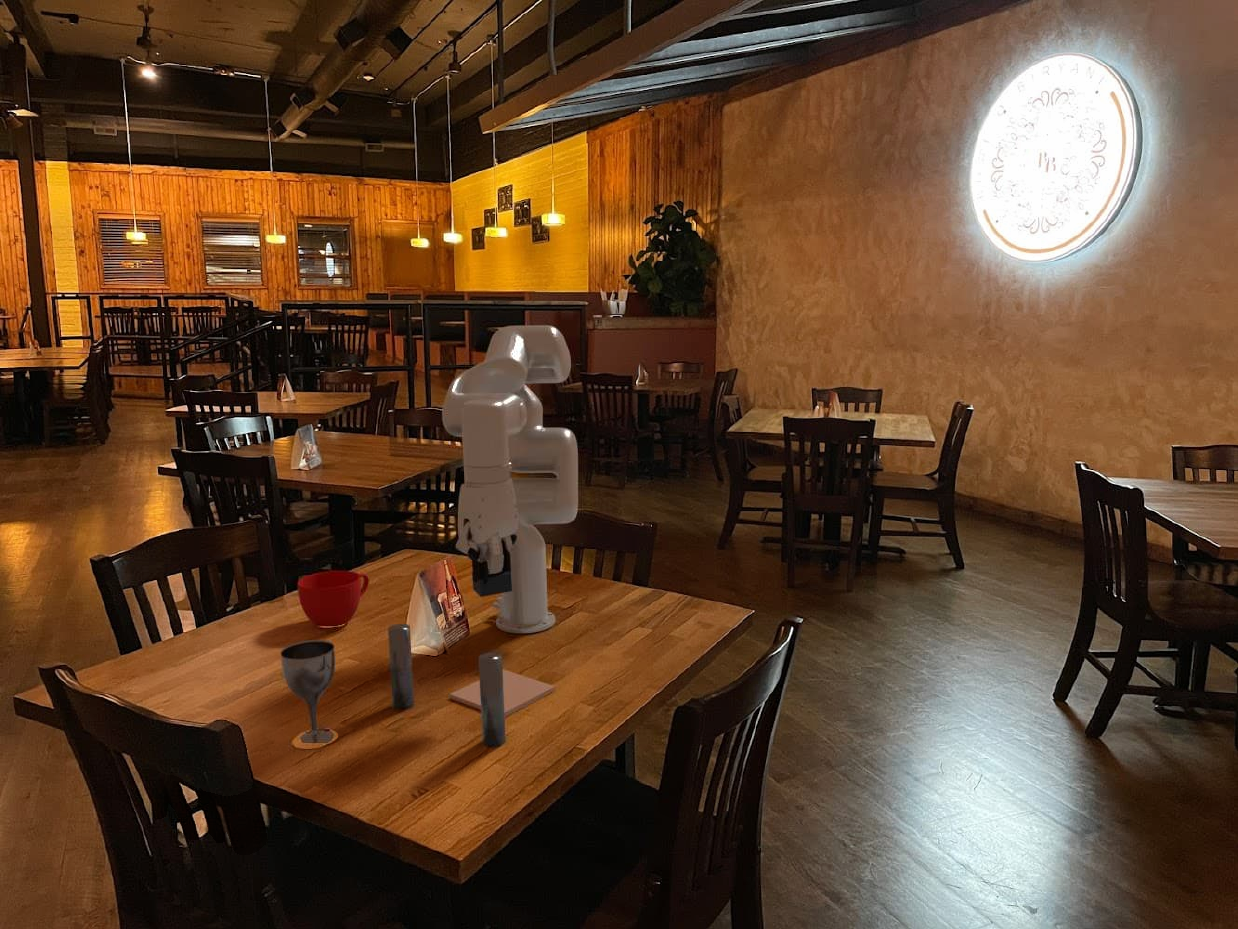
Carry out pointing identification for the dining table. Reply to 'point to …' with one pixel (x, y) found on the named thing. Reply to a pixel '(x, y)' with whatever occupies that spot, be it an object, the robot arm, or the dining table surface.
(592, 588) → the dining table surface
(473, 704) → the terracotta tile
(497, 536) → the watch
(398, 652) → the metal post
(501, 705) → the metal post
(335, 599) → the ceramic cup
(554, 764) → the dining table surface
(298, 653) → the wine glass
